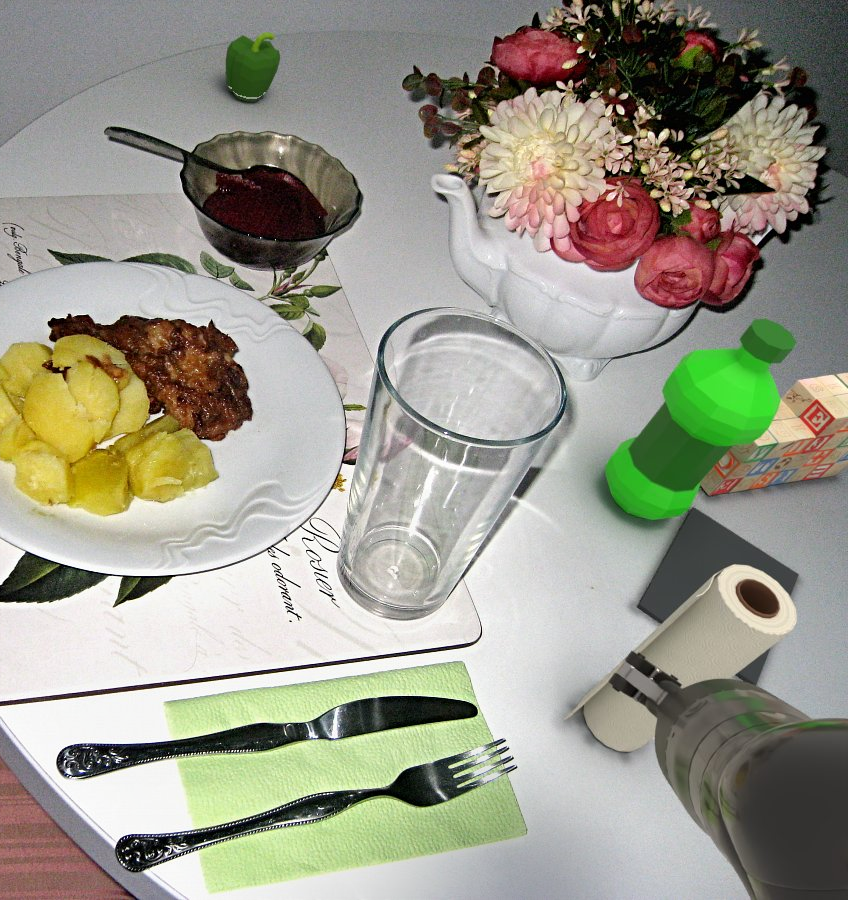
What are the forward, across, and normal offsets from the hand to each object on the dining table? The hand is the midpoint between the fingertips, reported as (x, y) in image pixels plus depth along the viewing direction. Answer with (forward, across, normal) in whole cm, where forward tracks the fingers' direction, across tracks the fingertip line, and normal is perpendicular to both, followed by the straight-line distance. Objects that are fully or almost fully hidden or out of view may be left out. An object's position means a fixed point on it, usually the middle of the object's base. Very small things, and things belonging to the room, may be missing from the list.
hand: (685, 706), depth 62 cm
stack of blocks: (+53, +2, +27) cm, 59 cm away
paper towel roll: (+20, 0, -6) cm, 21 cm away
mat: (+36, +4, +11) cm, 38 cm away
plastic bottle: (+40, -8, +14) cm, 43 cm away
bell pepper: (+63, -90, +36) cm, 116 cm away
